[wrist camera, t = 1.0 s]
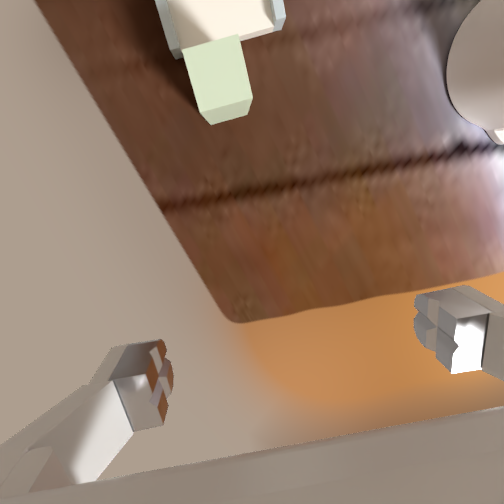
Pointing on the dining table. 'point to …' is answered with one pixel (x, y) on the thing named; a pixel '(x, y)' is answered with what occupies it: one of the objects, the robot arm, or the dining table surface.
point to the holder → (217, 20)
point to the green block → (219, 79)
